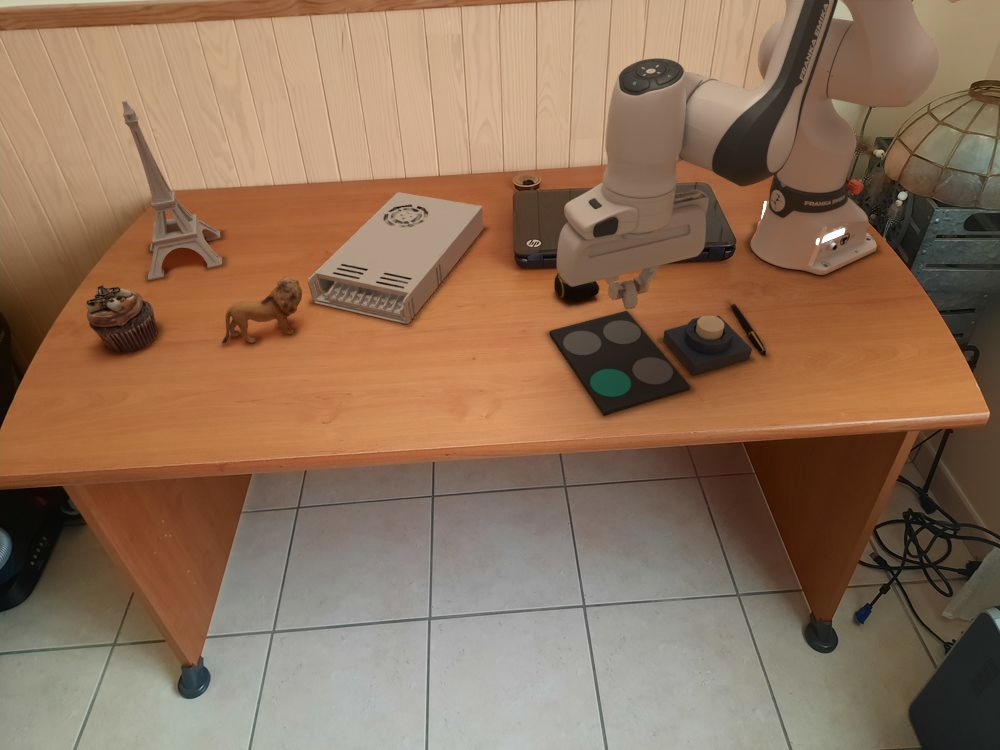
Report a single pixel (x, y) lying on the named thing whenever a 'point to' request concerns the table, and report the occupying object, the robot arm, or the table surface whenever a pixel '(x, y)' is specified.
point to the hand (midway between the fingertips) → (627, 294)
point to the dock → (706, 348)
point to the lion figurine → (265, 309)
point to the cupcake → (122, 319)
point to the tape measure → (575, 290)
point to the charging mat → (618, 362)
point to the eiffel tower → (184, 224)
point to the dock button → (709, 327)
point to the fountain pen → (749, 329)
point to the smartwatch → (629, 294)
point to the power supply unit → (397, 257)
